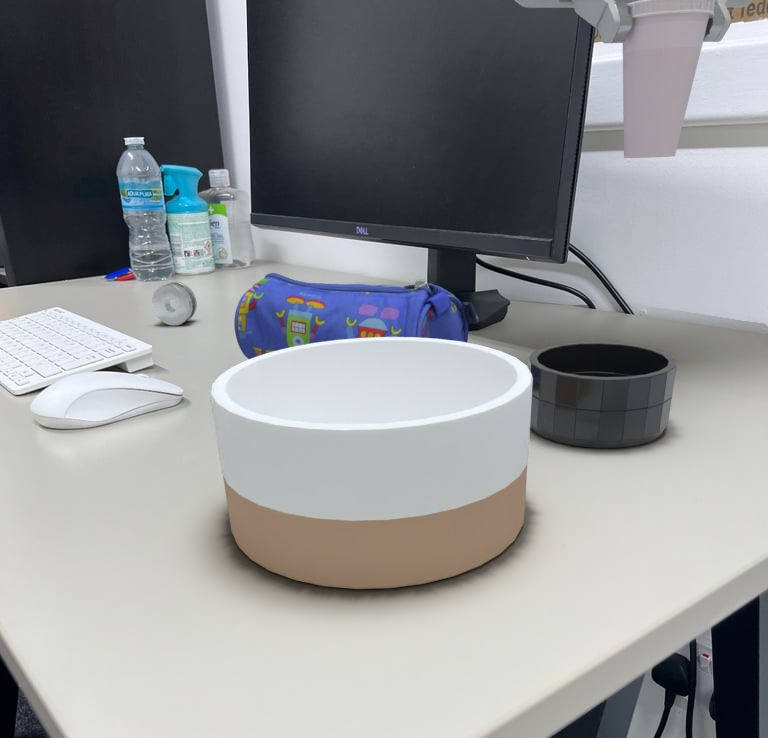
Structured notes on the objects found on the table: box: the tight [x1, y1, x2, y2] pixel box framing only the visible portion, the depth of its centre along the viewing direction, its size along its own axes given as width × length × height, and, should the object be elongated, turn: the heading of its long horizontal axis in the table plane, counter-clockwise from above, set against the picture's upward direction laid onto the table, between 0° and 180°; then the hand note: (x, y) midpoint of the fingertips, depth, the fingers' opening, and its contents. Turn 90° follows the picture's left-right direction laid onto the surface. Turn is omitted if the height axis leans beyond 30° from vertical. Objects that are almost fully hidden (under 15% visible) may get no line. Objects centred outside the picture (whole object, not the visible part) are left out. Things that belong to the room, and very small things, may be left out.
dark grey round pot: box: [527, 341, 678, 449], centre depth 53 cm, size 10×10×5 cm
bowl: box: [209, 337, 533, 590], centre depth 41 cm, size 17×17×8 cm
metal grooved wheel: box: [151, 281, 198, 327], centre depth 92 cm, size 5×3×5 cm, turn 82°
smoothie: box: [622, 0, 715, 159], centre depth 52 cm, size 6×6×14 cm
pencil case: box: [233, 272, 480, 360], centre depth 65 cm, size 22×9×10 cm, turn 57°
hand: (669, 34), depth 51 cm, fingers closed on smoothie, 6 cm apart
